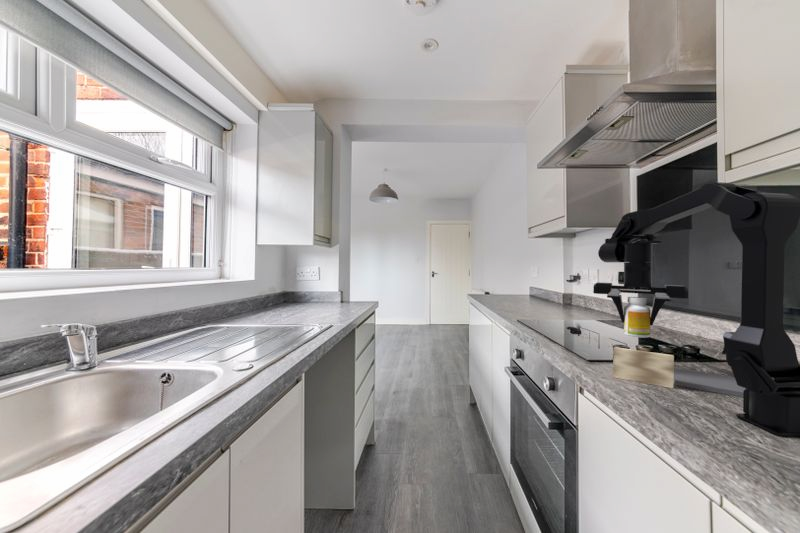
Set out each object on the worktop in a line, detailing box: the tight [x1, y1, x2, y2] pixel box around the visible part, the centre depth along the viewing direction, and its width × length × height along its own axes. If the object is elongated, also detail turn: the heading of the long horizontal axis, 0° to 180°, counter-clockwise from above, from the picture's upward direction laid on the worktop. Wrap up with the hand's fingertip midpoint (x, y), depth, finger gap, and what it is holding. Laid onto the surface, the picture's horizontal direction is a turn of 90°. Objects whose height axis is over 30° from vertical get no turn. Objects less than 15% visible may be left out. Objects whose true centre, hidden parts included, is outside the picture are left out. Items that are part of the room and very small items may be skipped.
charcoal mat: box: [673, 367, 746, 398], centre depth 72 cm, size 12×12×1 cm
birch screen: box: [612, 346, 675, 389], centre depth 73 cm, size 11×2×7 cm, turn 53°
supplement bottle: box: [623, 296, 651, 339], centre depth 80 cm, size 5×5×10 cm
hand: (636, 323), depth 80 cm, fingers closed on supplement bottle, 5 cm apart
